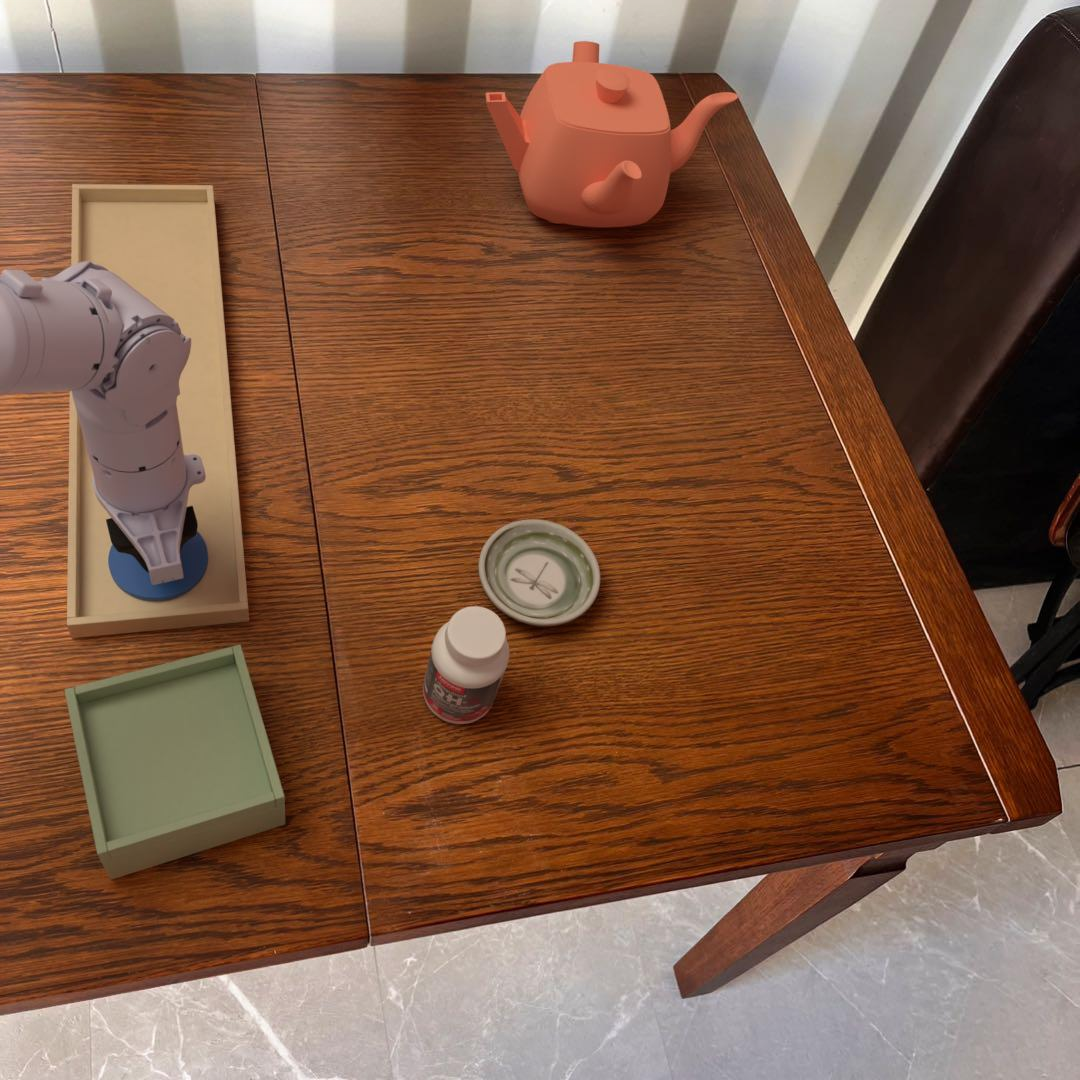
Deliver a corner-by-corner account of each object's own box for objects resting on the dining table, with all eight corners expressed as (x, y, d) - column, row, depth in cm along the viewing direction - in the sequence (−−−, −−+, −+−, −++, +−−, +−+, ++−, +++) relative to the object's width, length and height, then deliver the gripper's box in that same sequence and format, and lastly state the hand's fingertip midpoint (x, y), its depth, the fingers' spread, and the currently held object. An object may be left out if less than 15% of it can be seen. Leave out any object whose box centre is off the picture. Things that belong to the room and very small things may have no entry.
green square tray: (110, 880, 69) (97, 854, 64) (78, 723, 74) (63, 688, 69) (285, 824, 73) (284, 796, 68) (243, 678, 78) (240, 643, 73)
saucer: (605, 554, 89) (612, 538, 87) (579, 654, 84) (586, 640, 82) (493, 519, 89) (497, 502, 87) (460, 616, 84) (464, 601, 82)
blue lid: (119, 611, 78) (110, 579, 74) (100, 533, 81) (91, 498, 77) (218, 588, 81) (214, 556, 77) (196, 513, 84) (191, 478, 80)
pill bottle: (421, 725, 78) (435, 665, 70) (422, 658, 81) (436, 593, 73) (495, 728, 79) (518, 669, 71) (494, 661, 82) (515, 598, 74)
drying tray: (249, 621, 80) (248, 608, 78) (71, 638, 77) (66, 625, 75) (214, 201, 103) (212, 184, 101) (75, 201, 99) (72, 183, 98)
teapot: (699, 201, 116) (743, 87, 105) (603, 284, 107) (640, 169, 95) (564, 115, 120) (593, -4, 109) (460, 188, 110) (479, 66, 99)
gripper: (225, 514, 66) (236, 619, 78) (173, 341, 73) (189, 461, 84) (104, 540, 64) (133, 645, 75) (61, 358, 70) (94, 479, 82)
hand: (156, 549), depth 80 cm, fingers closed on blue lid, 2 cm apart
